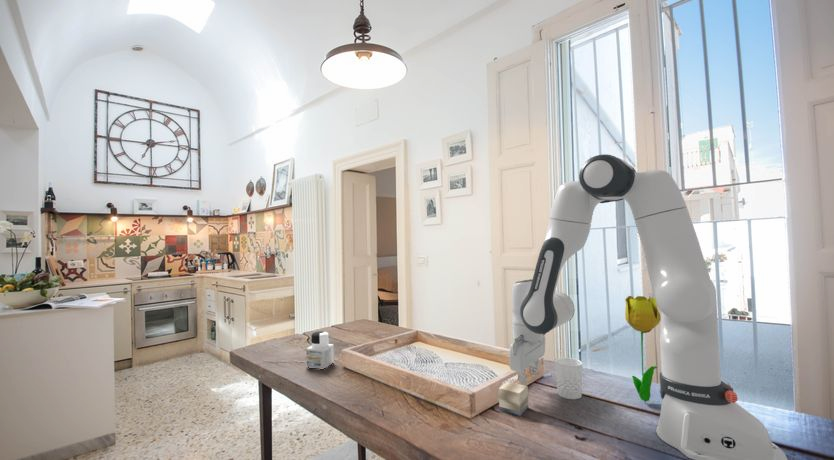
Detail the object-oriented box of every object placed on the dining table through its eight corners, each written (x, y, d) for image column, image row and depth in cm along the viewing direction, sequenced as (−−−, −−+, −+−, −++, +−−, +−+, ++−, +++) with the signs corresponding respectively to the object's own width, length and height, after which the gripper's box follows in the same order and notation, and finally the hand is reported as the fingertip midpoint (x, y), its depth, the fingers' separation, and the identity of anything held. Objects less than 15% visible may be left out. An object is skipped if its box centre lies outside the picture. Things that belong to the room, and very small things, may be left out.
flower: (621, 400, 105) (617, 296, 106) (638, 394, 109) (634, 293, 110) (652, 412, 97) (647, 300, 99) (670, 405, 101) (664, 297, 102)
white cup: (553, 397, 108) (552, 363, 109) (557, 388, 115) (555, 356, 116) (582, 402, 105) (581, 367, 105) (584, 392, 112) (583, 359, 112)
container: (306, 368, 140) (305, 334, 140) (317, 362, 147) (316, 329, 147) (323, 370, 137) (323, 335, 138) (334, 363, 145) (333, 330, 145)
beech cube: (528, 407, 102) (527, 386, 103) (520, 415, 98) (519, 393, 98) (508, 402, 106) (507, 381, 106) (499, 410, 101) (498, 388, 102)
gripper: (524, 341, 102) (525, 391, 101) (548, 327, 118) (549, 370, 117) (503, 338, 106) (504, 386, 105) (529, 324, 122) (530, 366, 121)
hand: (528, 377), depth 111 cm, fingers open, 8 cm apart
